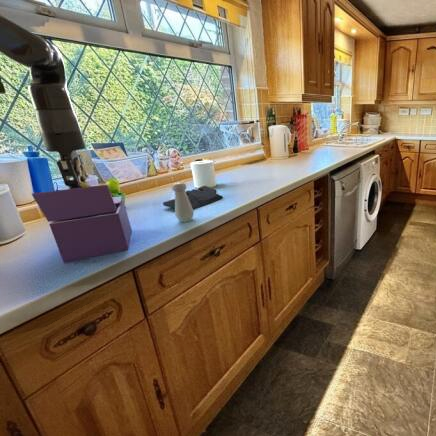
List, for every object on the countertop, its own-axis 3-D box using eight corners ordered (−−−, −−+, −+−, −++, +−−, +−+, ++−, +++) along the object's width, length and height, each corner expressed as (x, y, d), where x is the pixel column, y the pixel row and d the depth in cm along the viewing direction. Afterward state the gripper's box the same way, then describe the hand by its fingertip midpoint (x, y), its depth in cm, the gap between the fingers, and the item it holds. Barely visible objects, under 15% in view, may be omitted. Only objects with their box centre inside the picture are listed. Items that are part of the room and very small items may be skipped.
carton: (128, 249, 82) (117, 210, 78) (63, 263, 76) (47, 220, 72) (131, 230, 96) (122, 196, 92) (77, 240, 90) (64, 203, 86)
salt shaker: (189, 216, 107) (181, 180, 103) (198, 219, 104) (191, 182, 100) (173, 221, 103) (165, 184, 98) (182, 224, 99) (174, 185, 95)
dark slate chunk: (157, 208, 117) (154, 197, 116) (199, 194, 136) (197, 184, 134) (186, 212, 111) (183, 200, 110) (226, 197, 130) (225, 186, 129)
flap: (117, 210, 78) (117, 211, 78) (48, 220, 72) (48, 222, 72) (107, 184, 73) (107, 185, 73) (31, 193, 67) (31, 194, 66)
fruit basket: (93, 208, 121) (84, 180, 117) (115, 202, 128) (108, 176, 125) (110, 211, 116) (101, 182, 112) (132, 205, 124) (125, 177, 120)
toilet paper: (190, 187, 150) (185, 163, 146) (208, 182, 158) (204, 159, 154) (203, 189, 145) (199, 164, 141) (221, 184, 153) (217, 160, 149)
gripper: (48, 129, 76) (70, 194, 82) (30, 132, 64) (56, 207, 70) (85, 128, 80) (103, 190, 85) (74, 130, 68) (96, 202, 73)
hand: (82, 197), depth 78 cm, fingers closed on lemon, 5 cm apart
